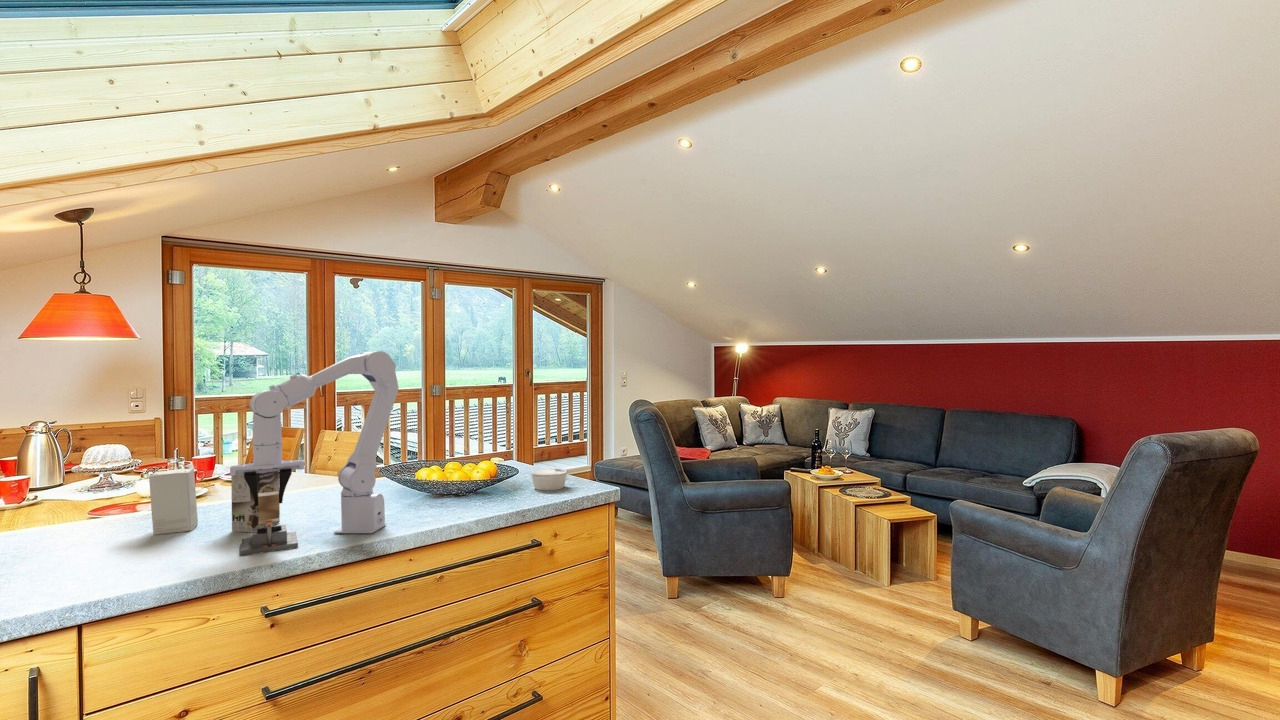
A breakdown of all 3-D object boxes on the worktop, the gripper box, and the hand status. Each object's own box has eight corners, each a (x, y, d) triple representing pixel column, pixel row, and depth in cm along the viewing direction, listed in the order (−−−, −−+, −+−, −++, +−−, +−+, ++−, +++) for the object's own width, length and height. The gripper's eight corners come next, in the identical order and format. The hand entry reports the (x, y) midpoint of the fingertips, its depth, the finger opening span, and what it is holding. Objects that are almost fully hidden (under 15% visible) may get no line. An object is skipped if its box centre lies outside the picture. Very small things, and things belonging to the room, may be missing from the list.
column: (279, 517, 150) (278, 491, 150) (279, 521, 146) (279, 494, 146) (258, 520, 148) (258, 493, 148) (258, 524, 144) (257, 496, 144)
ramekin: (574, 487, 207) (574, 470, 206) (546, 493, 198) (546, 476, 198) (552, 482, 214) (551, 467, 214) (524, 488, 206) (524, 471, 206)
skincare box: (198, 525, 165) (196, 467, 165) (190, 531, 160) (189, 471, 159) (158, 529, 162) (157, 470, 162) (150, 535, 157) (148, 474, 156)
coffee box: (253, 532, 158) (252, 466, 158) (230, 531, 159) (229, 466, 159) (281, 523, 167) (280, 460, 167) (259, 522, 168) (258, 459, 168)
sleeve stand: (296, 535, 155) (295, 508, 155) (298, 547, 145) (297, 518, 145) (241, 543, 149) (241, 515, 149) (240, 555, 140) (239, 525, 140)
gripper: (228, 448, 140) (230, 511, 140) (304, 443, 147) (305, 503, 147) (230, 445, 146) (231, 505, 146) (302, 439, 153) (304, 497, 153)
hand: (268, 503), depth 147 cm, fingers closed on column, 4 cm apart
